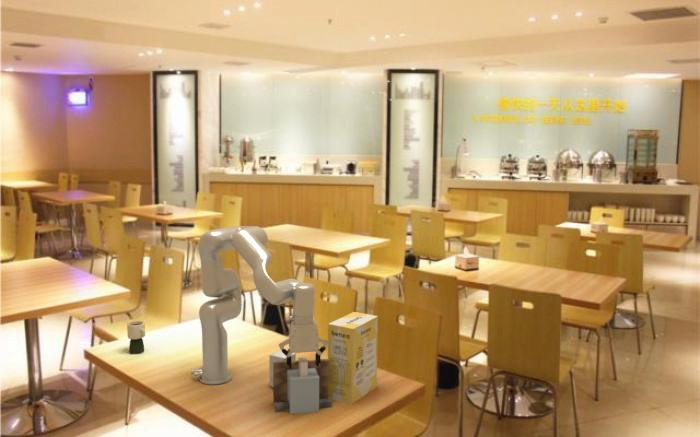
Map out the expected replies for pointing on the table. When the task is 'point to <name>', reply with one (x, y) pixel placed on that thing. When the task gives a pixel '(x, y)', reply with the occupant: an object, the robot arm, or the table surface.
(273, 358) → the supplement box
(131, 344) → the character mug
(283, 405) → the walnut wall board
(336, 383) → the pasta box
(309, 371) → the slate cabinet
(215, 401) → the table surface
